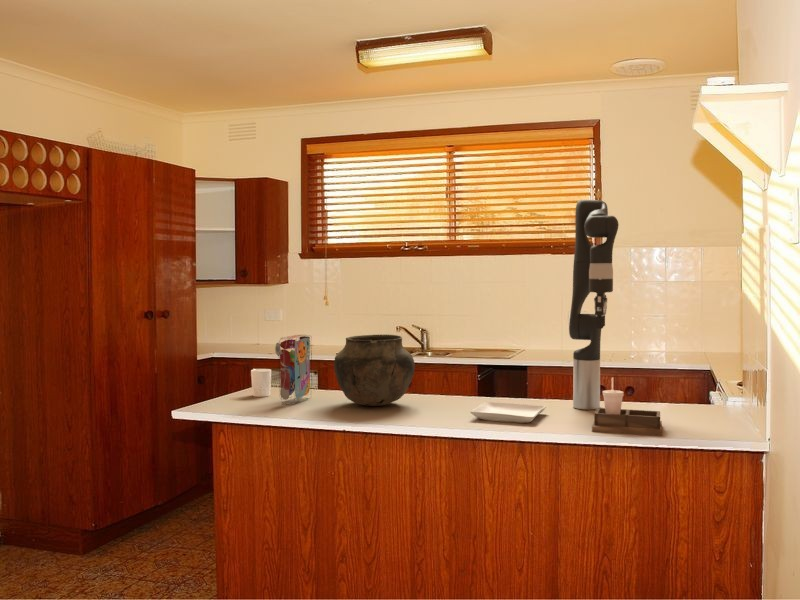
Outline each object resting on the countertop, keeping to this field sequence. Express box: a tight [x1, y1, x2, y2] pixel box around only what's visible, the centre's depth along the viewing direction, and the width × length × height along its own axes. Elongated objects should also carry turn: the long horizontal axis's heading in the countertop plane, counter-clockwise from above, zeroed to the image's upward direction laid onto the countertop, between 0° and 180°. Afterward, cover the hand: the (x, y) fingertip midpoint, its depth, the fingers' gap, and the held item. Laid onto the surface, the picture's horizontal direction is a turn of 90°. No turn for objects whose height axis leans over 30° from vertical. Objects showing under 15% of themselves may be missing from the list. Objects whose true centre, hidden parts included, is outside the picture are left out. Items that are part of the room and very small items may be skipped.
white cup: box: [250, 368, 272, 398], centre depth 294 cm, size 8×8×10 cm
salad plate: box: [469, 401, 547, 424], centre depth 250 cm, size 21×21×3 cm
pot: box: [333, 334, 415, 407], centre depth 271 cm, size 29×32×25 cm
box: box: [274, 334, 313, 406], centre depth 277 cm, size 25×6×24 cm, turn 163°
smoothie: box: [602, 377, 625, 414], centre depth 232 cm, size 6×6×14 cm
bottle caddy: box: [591, 407, 663, 437], centre depth 231 cm, size 15×20×5 cm
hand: (600, 327), depth 244 cm, fingers open, 8 cm apart
